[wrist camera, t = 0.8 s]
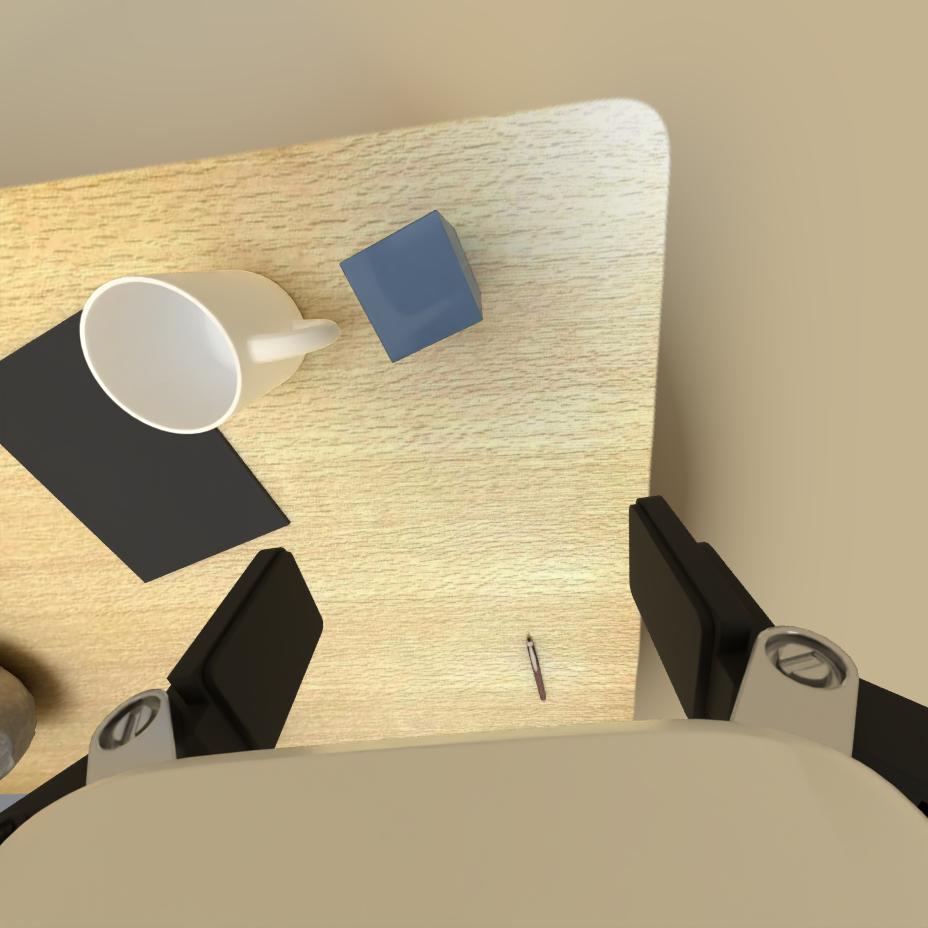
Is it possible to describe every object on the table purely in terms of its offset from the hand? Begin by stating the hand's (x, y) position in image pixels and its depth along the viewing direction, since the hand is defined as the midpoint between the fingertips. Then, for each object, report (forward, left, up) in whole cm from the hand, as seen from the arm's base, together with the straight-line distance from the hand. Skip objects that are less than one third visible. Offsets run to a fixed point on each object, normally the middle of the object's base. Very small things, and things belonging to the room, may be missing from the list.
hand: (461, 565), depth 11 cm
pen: (+34, -8, -23) cm, 42 cm away
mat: (-5, -31, -23) cm, 38 cm away
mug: (-8, -12, -23) cm, 27 cm away
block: (-7, 0, -23) cm, 24 cm away
